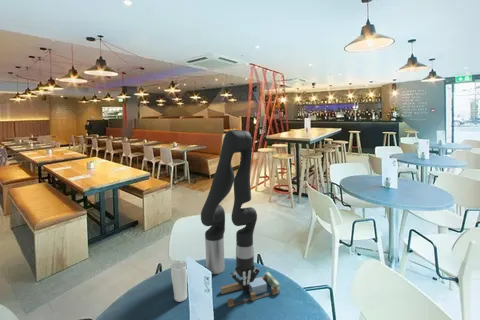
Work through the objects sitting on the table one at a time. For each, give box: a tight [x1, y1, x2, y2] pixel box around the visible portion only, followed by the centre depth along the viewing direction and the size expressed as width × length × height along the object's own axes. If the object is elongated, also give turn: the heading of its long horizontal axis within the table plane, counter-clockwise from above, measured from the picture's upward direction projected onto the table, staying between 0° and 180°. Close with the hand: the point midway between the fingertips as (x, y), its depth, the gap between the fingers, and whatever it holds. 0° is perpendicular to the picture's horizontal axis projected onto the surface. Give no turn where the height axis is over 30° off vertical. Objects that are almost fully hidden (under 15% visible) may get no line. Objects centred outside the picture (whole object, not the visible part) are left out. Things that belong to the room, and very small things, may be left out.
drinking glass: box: [170, 260, 188, 303], centre depth 112 cm, size 7×7×15 cm
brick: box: [248, 276, 268, 296], centre depth 117 cm, size 6×7×4 cm
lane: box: [220, 271, 281, 308], centre depth 115 cm, size 11×24×4 cm, turn 112°
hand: (245, 291), depth 115 cm, fingers closed
